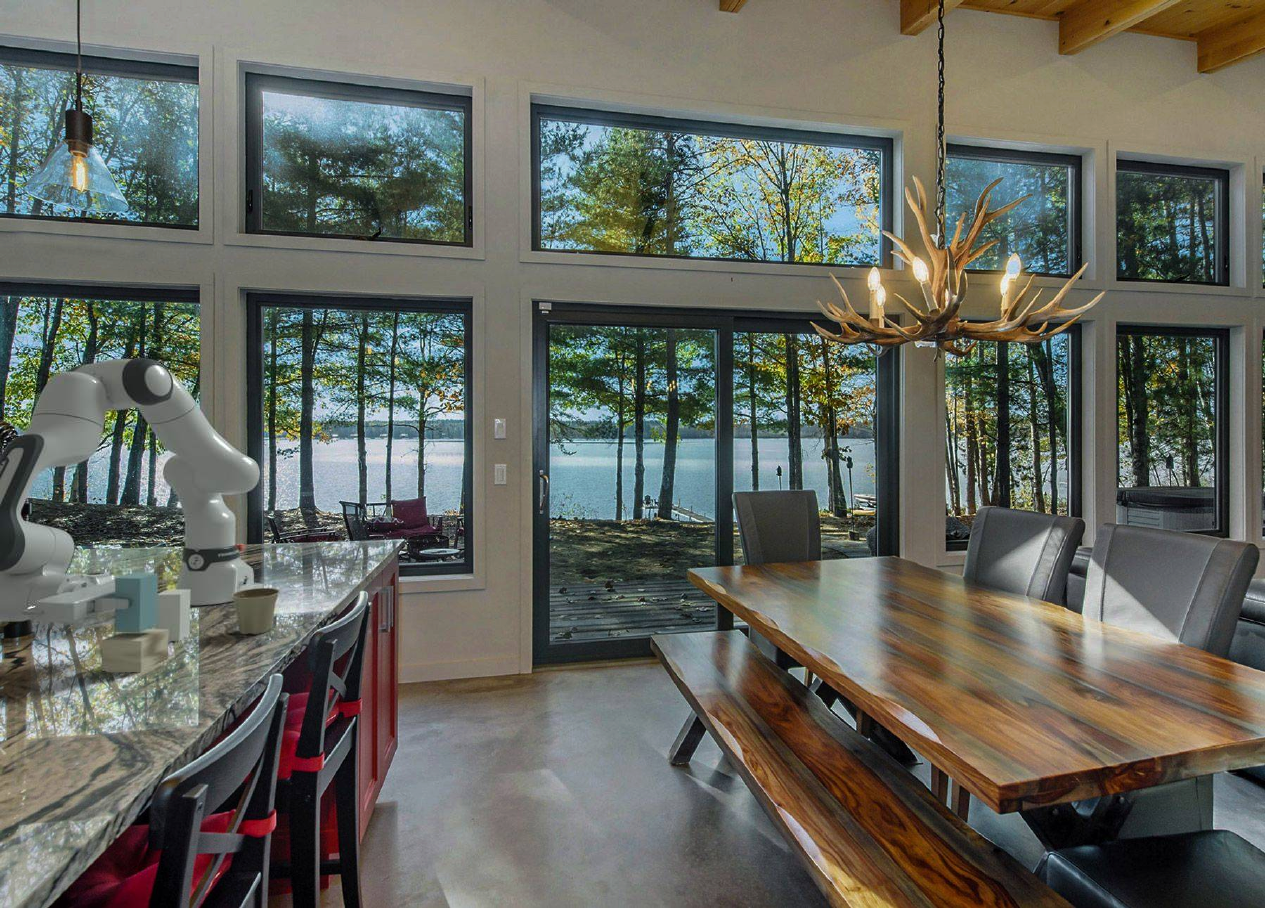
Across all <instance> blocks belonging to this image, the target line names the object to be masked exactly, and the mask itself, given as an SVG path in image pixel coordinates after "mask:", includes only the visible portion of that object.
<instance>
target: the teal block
mask: <svg viewBox="0 0 1265 908" xmlns="http://www.w3.org/2000/svg"><path fill="white" fill-rule="evenodd" d="M158 586H159V573H156V572H155V573H150V572H149V573H148V572H132V573H129V574H125V575H124V576H121V577H118V578H115V599H120V598H132V606H131V607H129V608H127V609H115V610H114V632H115V633H122V632H142V631H144V630H146V629H152V628H154V627H155V626H156V625H157V600H158V594H159V593H158V592H159V589H158Z"/></svg>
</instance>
